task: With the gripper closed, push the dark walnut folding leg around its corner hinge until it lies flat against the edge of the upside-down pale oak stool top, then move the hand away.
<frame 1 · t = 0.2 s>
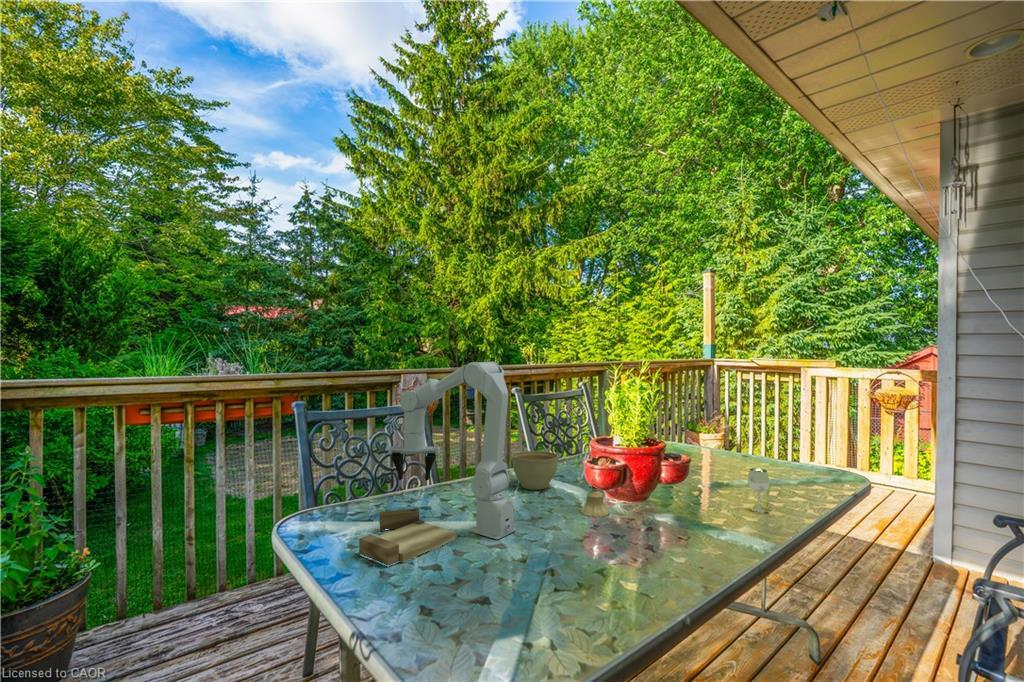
hand: (414, 479, 142), 10 cm above the table, tool pointing down, fingers open, 7 cm apart
wineglass: (758, 511, 147), on the table
stool top: (411, 544, 120), on the table
folding leg: (399, 518, 131), point 2 cm above the table, hinge at 35.0°
hand bell: (594, 513, 144), on the table
planter bowl: (534, 487, 171), on the table
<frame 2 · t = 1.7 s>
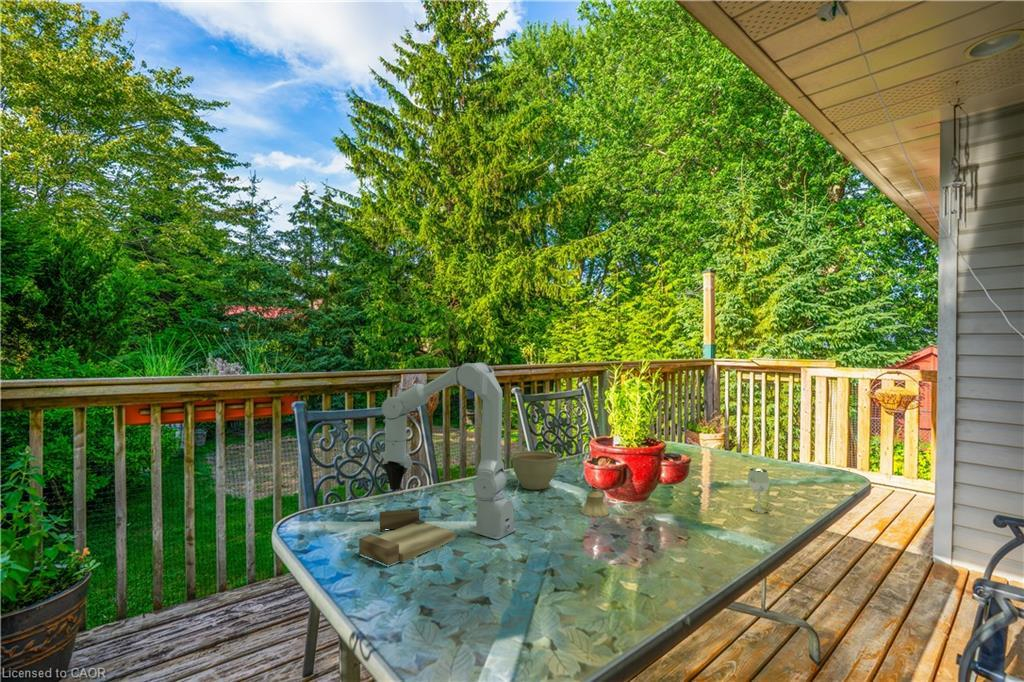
hand: (395, 489, 137), 8 cm above the table, tool pointing down, fingers closed
nothing on the table moved.
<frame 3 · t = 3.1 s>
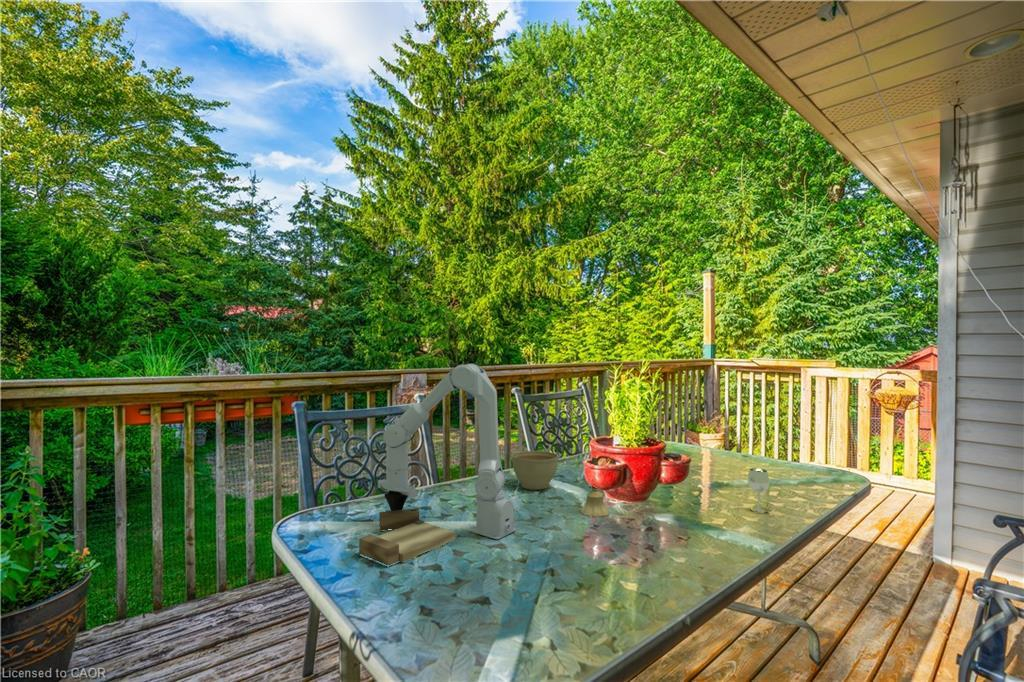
hand: (396, 519, 133), 1 cm above the table, tool pointing down, fingers closed
folding leg: (399, 518, 131), point 2 cm above the table, hinge at 33.6°, touching gripper
everything else where it was.
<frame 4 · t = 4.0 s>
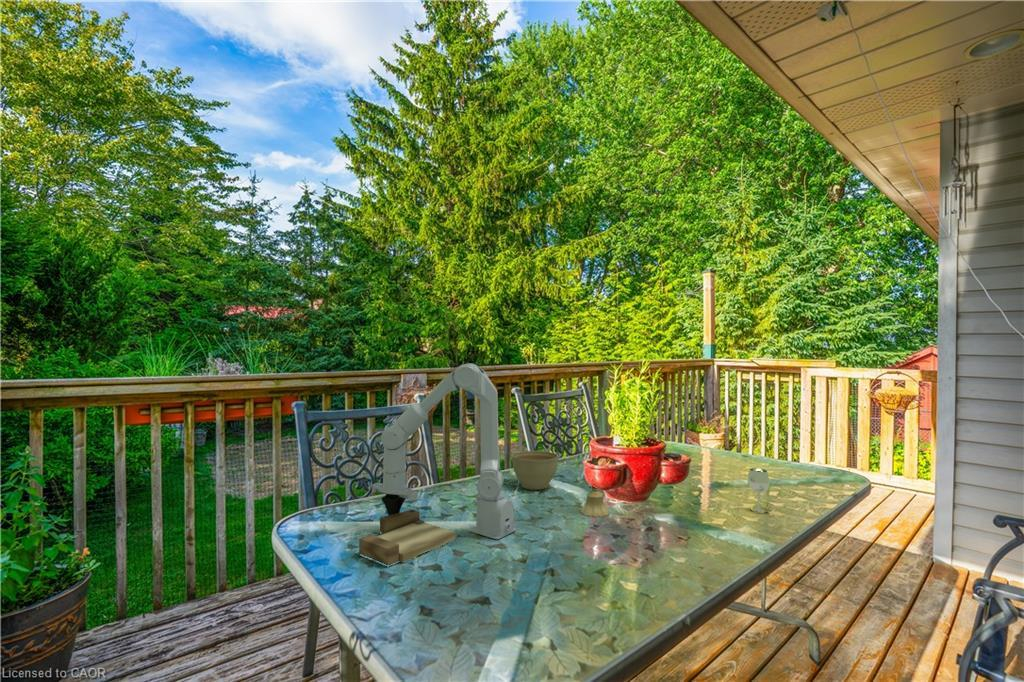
hand: (393, 522, 130), 1 cm above the table, tool pointing down, fingers closed
folding leg: (400, 521, 128), point 2 cm above the table, hinge at 9.1°, touching gripper
everything else where it was.
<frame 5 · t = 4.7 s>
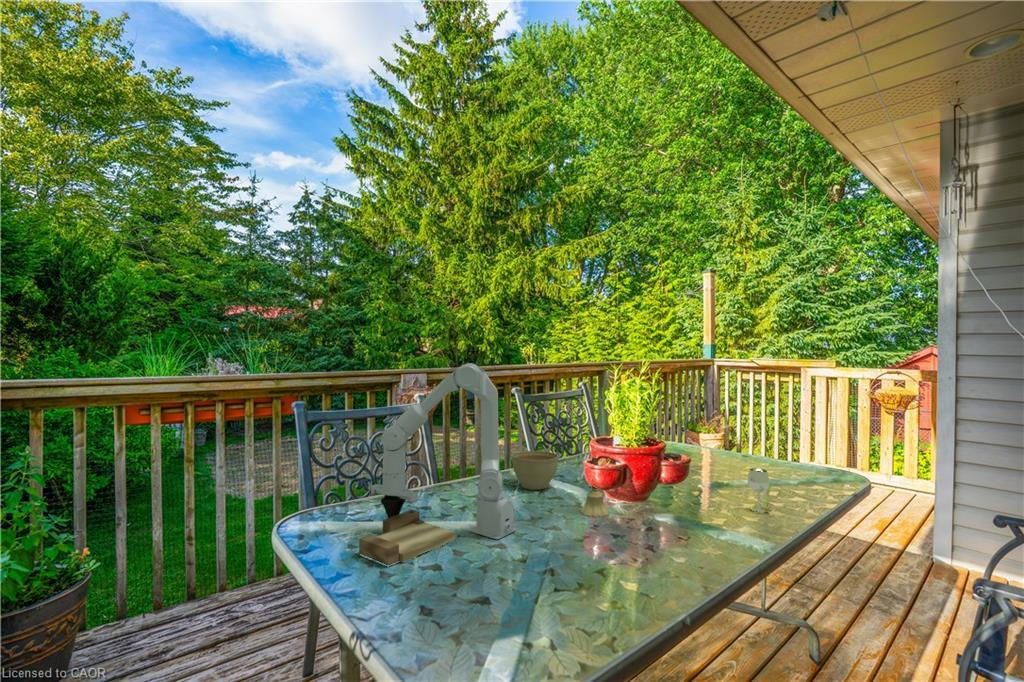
hand: (393, 524, 129), 1 cm above the table, tool pointing down, fingers closed
folding leg: (401, 522, 128), point 2 cm above the table, hinge at -2.3°, touching gripper, stool top
everything else where it was.
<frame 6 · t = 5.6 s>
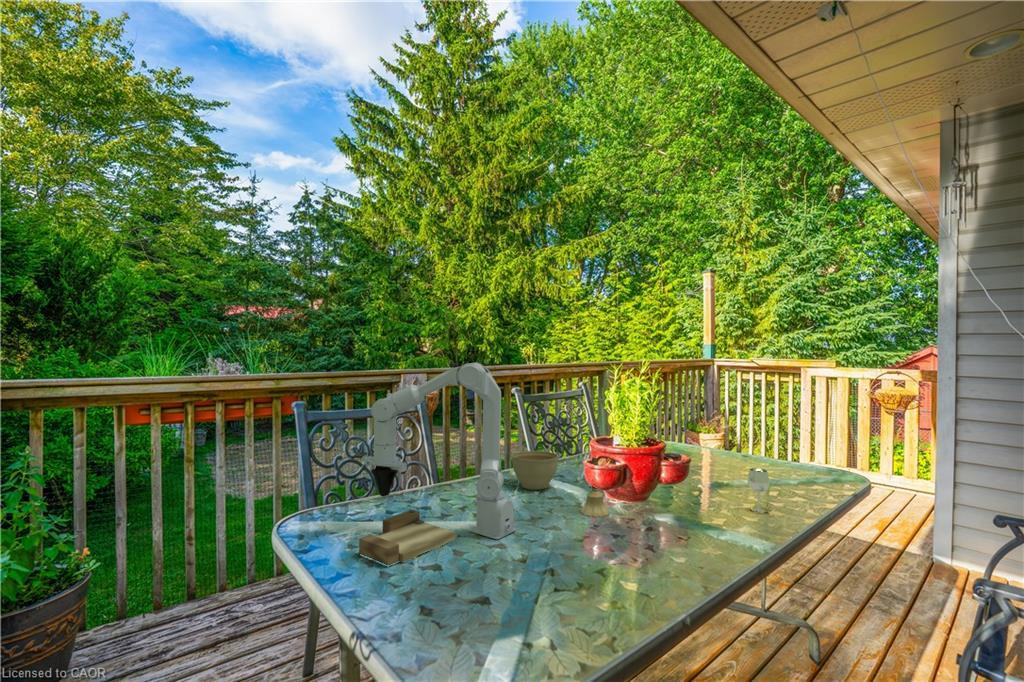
hand: (384, 495, 131), 8 cm above the table, tool pointing down, fingers closed
folding leg: (401, 522, 128), point 2 cm above the table, hinge at -2.2°
everything else where it was.
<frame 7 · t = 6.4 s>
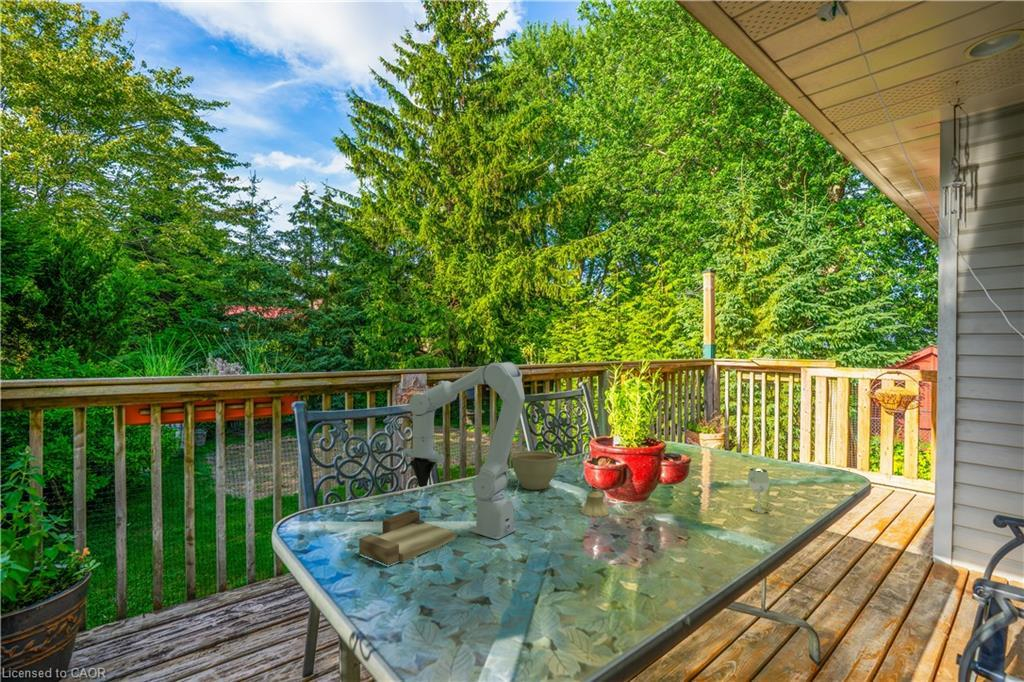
hand: (422, 485, 137), 9 cm above the table, tool pointing down, fingers closed
nothing on the table moved.
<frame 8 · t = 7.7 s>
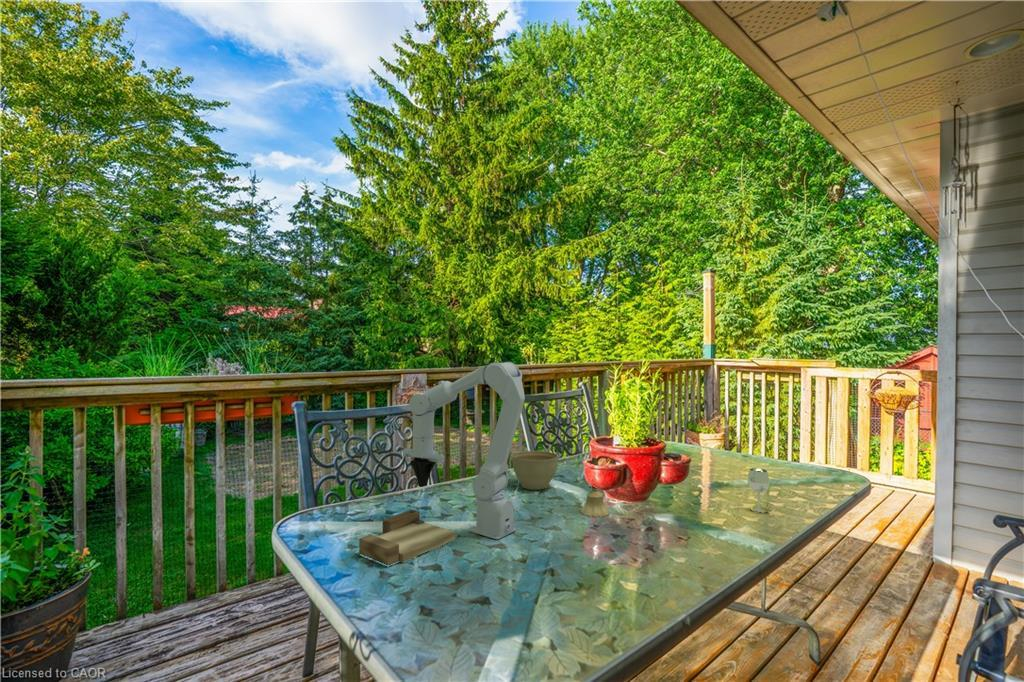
hand: (422, 485, 137), 9 cm above the table, tool pointing down, fingers closed
nothing on the table moved.
at the end: folding leg at -2° (first picture: +35°) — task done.
